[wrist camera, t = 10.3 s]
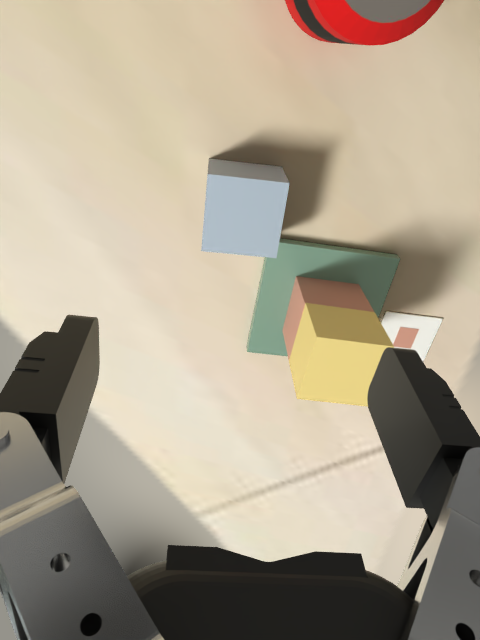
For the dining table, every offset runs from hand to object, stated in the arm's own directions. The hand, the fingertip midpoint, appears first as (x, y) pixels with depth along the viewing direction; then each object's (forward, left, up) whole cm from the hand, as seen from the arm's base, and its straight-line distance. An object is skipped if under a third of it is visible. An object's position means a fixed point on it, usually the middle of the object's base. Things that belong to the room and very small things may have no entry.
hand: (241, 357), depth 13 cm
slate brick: (+4, +2, -28) cm, 29 cm away
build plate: (+13, +11, -28) cm, 33 cm away
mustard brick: (+13, +11, -22) cm, 28 cm away
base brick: (+13, +11, -27) cm, 32 cm away
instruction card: (+17, +21, -28) cm, 39 cm away
